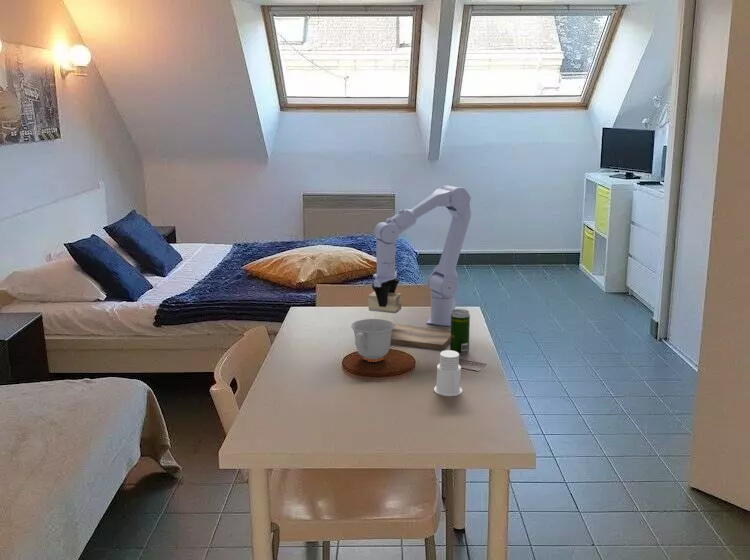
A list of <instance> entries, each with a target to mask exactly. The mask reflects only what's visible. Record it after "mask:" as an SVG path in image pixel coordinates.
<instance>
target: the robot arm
mask: <svg viewBox="0 0 750 560" xmlns="http://www.w3.org/2000/svg"><path fill="white" fill-rule="evenodd" d="M471 199H472V197H471V195H470V193H469V192H468V191H467V190H466V188H464V187H457V186H452V185H450V184H444V185H442V186H441V187H440V188H437V189H435V190H434V191H433V192H432V193H431V194H430V195H428V196H427V197H425V198H424V199H422V200H421V201H420V202H419V203H418V204H416V205H415V206H413V207H412V208H411V209H408V208H404V209H402V208H401V209H399V210H398V213H396V214H395V215H393V216H392V217H388V218H386V219H385V221H383V222H382V221H381V222H378V224H376V225H375V228H374V229H373V231H372V234H373V237H374V239H375V240H376V243H375V244H376V245H375V247H376V248H375V249H376V251H375V252H376V253H375V254H376V255H375V256H376V258H375V259H376V273H374V274H373V276H372V277H373V278H375V279H374V280H373V283H372V285H371V287H372V289H373V292H374V291H375V293H376V296H377V300H378V304H379V307H386V305H387V298H388V293H396V289H397V287H398V284H399V283H400V279H399V278H397V277H398V270H396V241H397V240H398V238H399V236H400V235H401V234H403V233H404V232H406V231H407V230H409V229H410V228H412V227H413V226H415V225H416V223H417V220H418V218H420V217H422V216H424V215H425V214H427V213H429V212H430V211H433V210H434V209H436V208H437V207H445V208H446V209H447V210H448V211H449V213H450V215H451V217H452V218H451V222H450V224H449V225H450V226H449V229H448V232H447V235H446V238H445V239H446V240H445V241H444V242H445V243H444V246H443V249H442V252H441V253H442V254H441V256H440V259H439V263H438V264H437V265H436V266H435V267H434V268H433V271H432V273H431V274H430V275H429V277H428V278H427V280H426V281H427V282H426V283H427V288H428V289H429V290H430V318H429V320H428V321H426V324H429V325H436V326H444V327H445V326H446V327H451V313H452V310H456V298H455V294H456V293H457V292H458V287H459V286H458V278H459V276H458V272H457V270H456V268H457V264H458V262H459V261H458V260H459V258H460V254H461V251H462V247H463V244H464V241H465V238H466V234H467V231H468V228H469V223H470V220H471V215H472V212H471V205H470V203H471V201H472V200H471Z"/></svg>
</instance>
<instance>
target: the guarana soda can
mask: <svg viewBox="0 0 750 560" xmlns="http://www.w3.org/2000/svg"><path fill="white" fill-rule="evenodd" d="M470 320H471V314H470V311H469V310H467V309H464V308H463V309H461V308H458V309H456V308H455V310H452V313H451V326H450V330H451V334H450V342H449V346H450V347H449V350H452V351H456V352H458V353H459V356H463V355H466V354H468V353H469V351H470V327H471V326H470V324H471V323H470V322H471V321H470Z"/></svg>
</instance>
